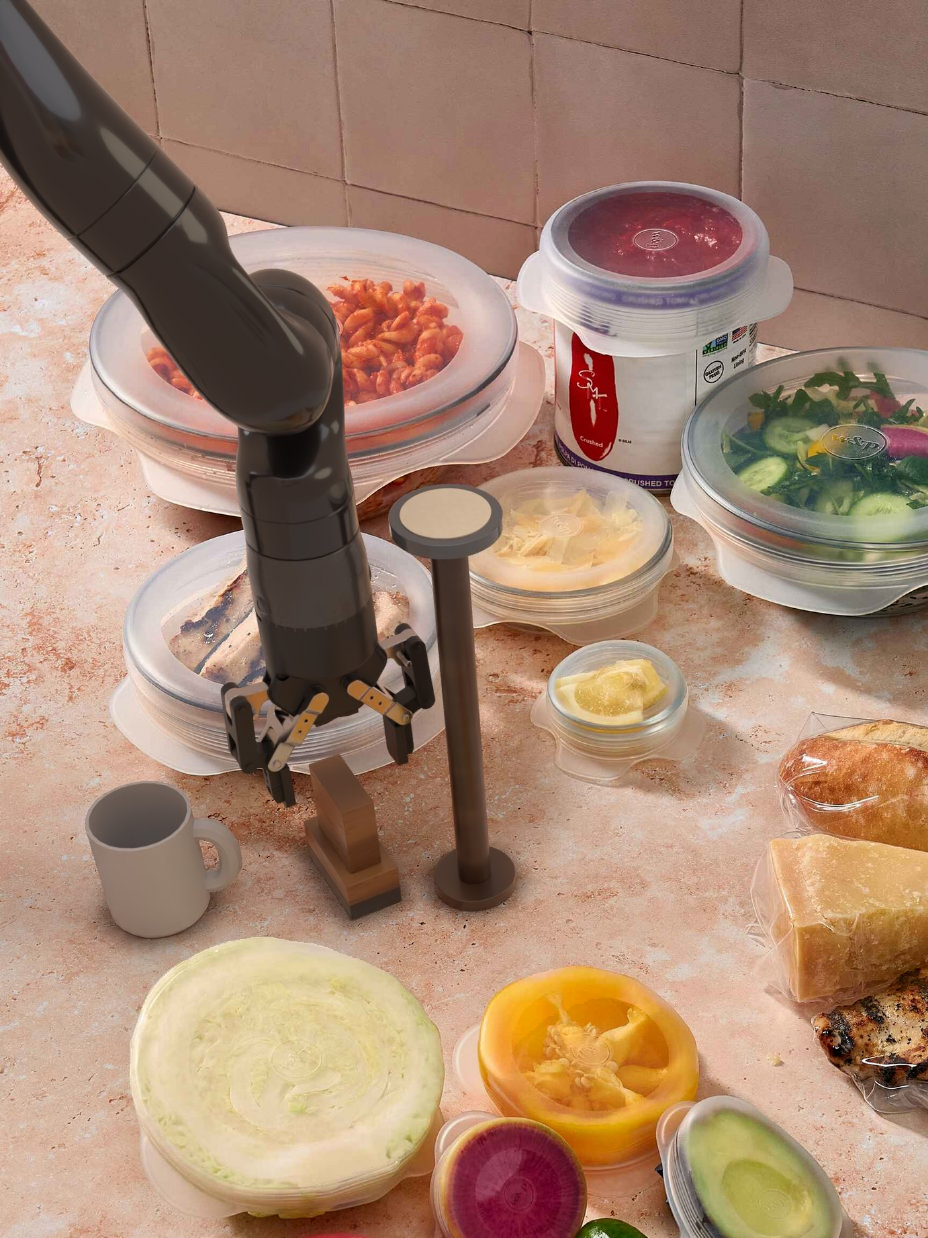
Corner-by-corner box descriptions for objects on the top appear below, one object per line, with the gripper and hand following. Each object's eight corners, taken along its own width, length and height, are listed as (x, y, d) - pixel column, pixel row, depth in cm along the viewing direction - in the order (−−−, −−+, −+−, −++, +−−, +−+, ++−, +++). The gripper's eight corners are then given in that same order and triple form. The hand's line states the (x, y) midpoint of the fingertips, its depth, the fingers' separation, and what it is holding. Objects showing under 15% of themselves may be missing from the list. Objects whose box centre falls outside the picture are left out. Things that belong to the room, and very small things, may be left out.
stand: (457, 922, 121) (423, 565, 100) (421, 872, 125) (381, 518, 104) (530, 892, 123) (512, 537, 102) (492, 843, 127) (468, 491, 106)
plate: (419, 572, 99) (418, 556, 99) (371, 516, 104) (369, 501, 103) (523, 539, 102) (522, 523, 101) (471, 486, 106) (470, 471, 106)
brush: (402, 900, 122) (390, 805, 116) (351, 921, 121) (337, 825, 114) (357, 836, 127) (343, 741, 121) (308, 854, 126) (292, 759, 119)
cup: (116, 874, 124) (90, 784, 118) (252, 863, 125) (234, 773, 119) (105, 945, 119) (78, 855, 113) (248, 933, 120) (229, 843, 114)
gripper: (389, 529, 112) (411, 716, 122) (184, 593, 106) (227, 783, 117) (438, 585, 107) (457, 774, 118) (227, 655, 101) (267, 847, 112)
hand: (342, 779), depth 117 cm, fingers open, 8 cm apart
